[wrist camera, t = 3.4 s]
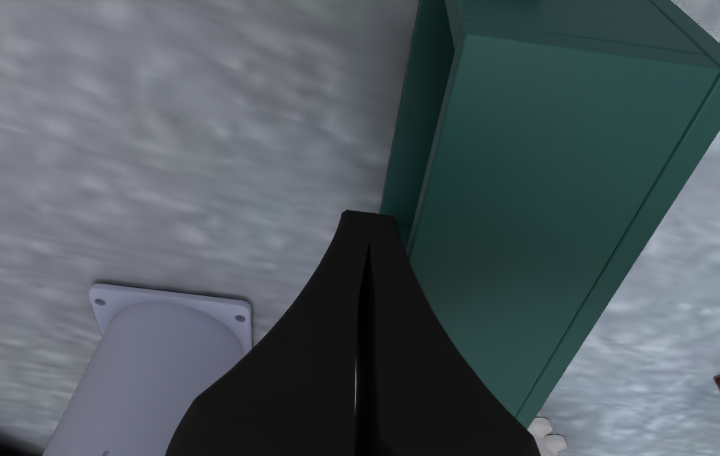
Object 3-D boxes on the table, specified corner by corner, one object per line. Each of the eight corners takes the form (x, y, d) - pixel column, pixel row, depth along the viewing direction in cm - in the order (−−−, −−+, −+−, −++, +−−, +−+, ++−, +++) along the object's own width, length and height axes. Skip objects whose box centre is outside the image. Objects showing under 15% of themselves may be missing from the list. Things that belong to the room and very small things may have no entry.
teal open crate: (486, 246, 24) (522, 438, 17) (375, 233, 24) (367, 421, 17) (609, -81, 16) (776, 45, 9) (438, -106, 15) (473, 2, 9)
